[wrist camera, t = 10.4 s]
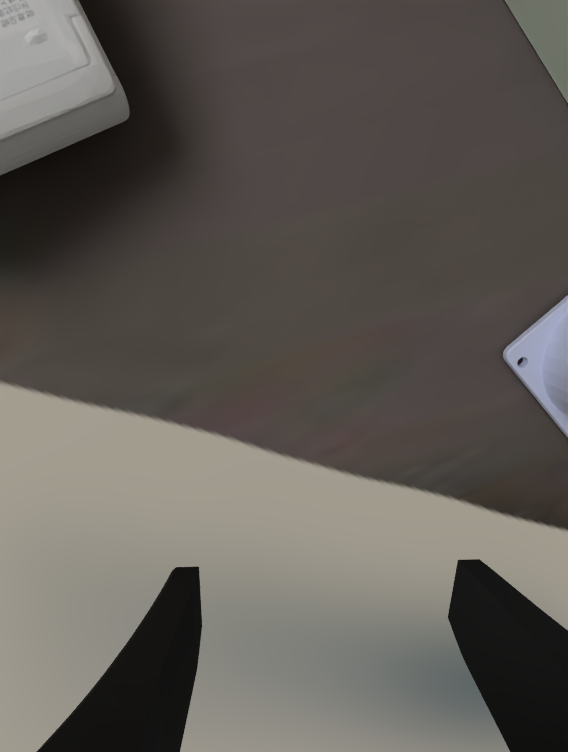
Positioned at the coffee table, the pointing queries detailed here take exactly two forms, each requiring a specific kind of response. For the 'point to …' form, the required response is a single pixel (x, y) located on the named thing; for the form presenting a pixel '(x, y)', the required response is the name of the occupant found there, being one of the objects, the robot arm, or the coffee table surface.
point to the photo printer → (52, 80)
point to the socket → (546, 34)
